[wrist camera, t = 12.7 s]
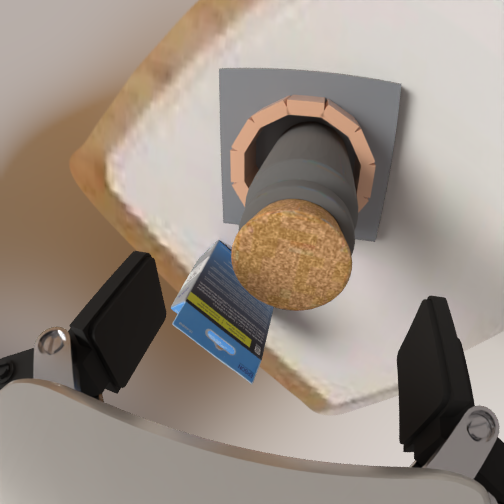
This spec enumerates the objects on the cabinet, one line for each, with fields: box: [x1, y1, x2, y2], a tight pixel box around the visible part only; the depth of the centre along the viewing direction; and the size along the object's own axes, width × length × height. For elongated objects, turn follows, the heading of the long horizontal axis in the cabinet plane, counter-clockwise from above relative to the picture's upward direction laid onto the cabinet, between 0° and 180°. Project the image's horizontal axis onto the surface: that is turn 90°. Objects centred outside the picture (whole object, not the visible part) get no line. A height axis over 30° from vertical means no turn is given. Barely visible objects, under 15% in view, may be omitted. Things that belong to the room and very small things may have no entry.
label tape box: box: [171, 240, 274, 384], centre depth 30 cm, size 9×4×12 cm, turn 47°
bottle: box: [231, 121, 358, 311], centre depth 18 cm, size 6×6×15 cm
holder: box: [219, 68, 401, 242], centre depth 23 cm, size 14×14×6 cm
